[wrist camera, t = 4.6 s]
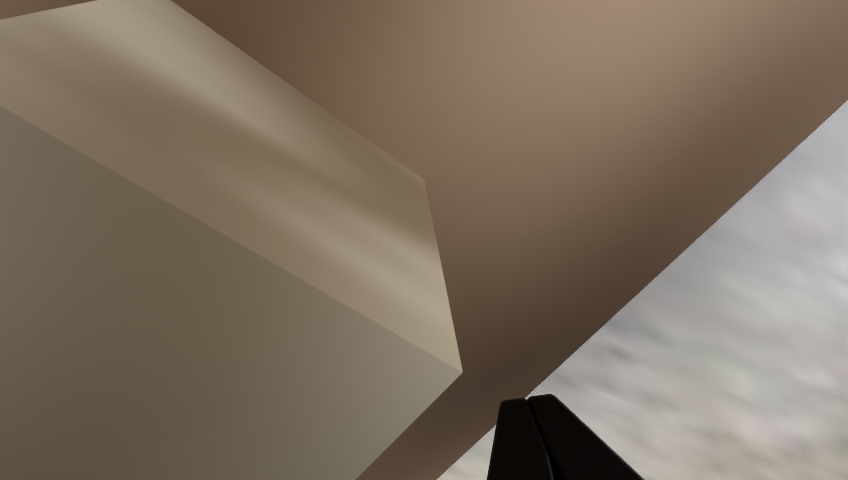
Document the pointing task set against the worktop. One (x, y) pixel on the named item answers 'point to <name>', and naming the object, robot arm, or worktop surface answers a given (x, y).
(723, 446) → the worktop surface
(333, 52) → the trap board
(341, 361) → the maple block
